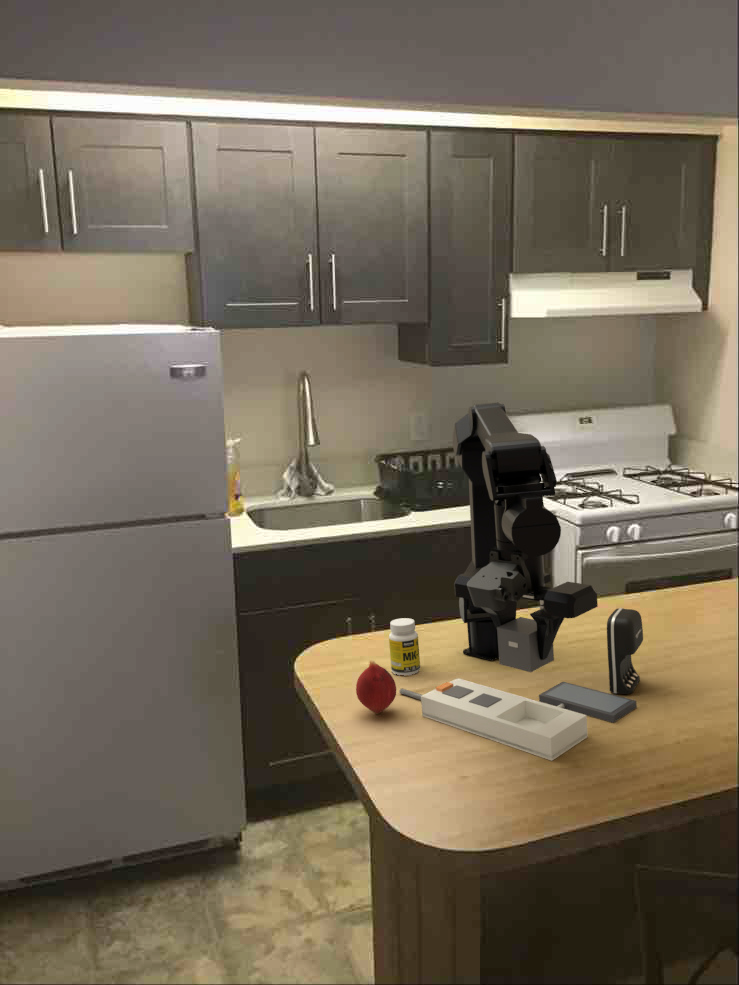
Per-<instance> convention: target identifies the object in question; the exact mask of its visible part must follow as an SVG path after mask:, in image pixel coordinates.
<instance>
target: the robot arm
mask: <svg viewBox="0 0 739 985" xmlns="http://www.w3.org/2000/svg"><path fill="white" fill-rule="evenodd" d="M541 444H542V443H541V442H540V440H539V439H538V438H537V437H536V436H534V435H533V434H530V433H529V434H528V433H524V432H519V431H518V430H517V428H516V427H515V425H514V424H513V422H512V421H511V419H510V418H509V417H508V415H507V412H506V406H505V404H504V403H499V402H488V403H487V402H486V403H476V404H475V403H474V404H473V405H472V406H469V407H468V410H467V414H465V415H464V416H463V417H462V418H460V419H458V420H457V422H455V423H454V426H453V433H452V446H453V454H454V455H455V457H456V456H457V462H458V463H459V465H460V468H461V469H462V471H463V472H464V474H465V475H466V476H467V478H468V490H469V491H468V492H469V494H468V495H469V513H470V516H469V517H470V518H469V519H470V536H471V539H470V540H471V555H472V556H471V559H472V560H471V561H470V563H469V564H468V566H467V568H466V570H464V573H461V574H458V576H457V577H456V579H455V581H454V584H453V586H454V596H455V597H456V598H459V599H458V600H459V601H458V606H459V615H460V618H461V620H462V622H463V624H466V626H467V639H468V640H467V642H468V648H465V649H463V650H462V653H463V655H468V656H472V657H476V658H480V659H483V660H487V661H494V660H497V659H499V649H498V635H497V627H499V626H501V625H504V624H506V623H508V622H510V621H513V620H515V619H517V603H518V602H519V601H520V600H521V599H524V600H529V601H534V602H539V609H538V610H536V611H534V612H533V611H532V612H531V613H529V615H530V617H531V619H533V620H535V622H536V624H537V639H538V651H539V657H540V660H544V659H546V658H547V657H548V654H549V652H550V649H551V647H552V644H553V645H554V641H555V639H556V636H557V634H558V632H559V629H560V627H561V626H562V624H563V622H564V620H565V619H576V618H577V617H579V616H582V615H584V614H586V613H587V612H589V611H592V610H593V609H596V608H598V606H599V605H598V593H597V591H596V589H595V588H594V587H593V586H592V585H590V584H585V583H580V582H572V581H566V582H563V583H561V584H559V585H557V586H554V587H548V586H546V584H548V583H551V581H552V580H551V578H552V577H551V573H546V572H545V564H544V563H545V562H544V556H545V555H548V553H550V552H552V551H553V550H554V549H555V548H556V547H557V545H558V543H559V541H560V539H561V535H562V534H561V533H562V527H561V525H560V522H559V519H558V518H557V516H556V515H555V514H554V513H553V512H552V511H550V510H549V509H547V508H546V507H545V504H544V497H549V496H555V495H556V489H555V488H557V487H556V486H557V482H558V480H557V476H556V472H555V469H554V466H553V461H552V460H551V459H552V458H551V456H550V454H549V453H548V452H547V448H546V447H545V446H544V445H541Z"/></svg>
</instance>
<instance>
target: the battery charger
mask: <svg viewBox="0 0 739 985" xmlns="http://www.w3.org/2000/svg"><path fill="white" fill-rule="evenodd" d="M642 619H643V618H642V616H641V613H640V611H638V610H636V609H629V608H623V607H619V608H616V609H614V610H613V611H612V612H611V613H610V615H609V617H608V618H607V621H606V644H607V646H606V647H607V662H608V663H607V664H608V679H609V680H608V681H609V682H608V683H609V684H608V685H609V692H610V693H611V694H612V693H613V694H614V695H617V694H621V695H622V694H623V695H629V694H632V693H633V692H634V691H635V689H636V688H637V686H638V684H639V682H640V680H641V677H640V675H639V674H638V673H637V671H636V669H635V667H634V665H633V663H632V662H633V661H632V655H634V654H635V653H636V652H637V650H638V649H639V648H640V646H641V645H642V644H643V641H644V633H643V630H644V629H643V621H642Z"/></svg>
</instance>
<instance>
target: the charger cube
mask: <svg viewBox="0 0 739 985" xmlns="http://www.w3.org/2000/svg"><path fill="white" fill-rule="evenodd" d="M497 635H498V649H499V658H498V662H499V664H498V665H500V666H505V667H509V668H513V669H517V670H520V671H524V672H528V673H533V672H535V671H537V670H539V669H540V668H543V667H544V666H546V665H548V664H550V663H551V662H554V661H555V655H554V654H555V652H554V643H553V644H552V647H551V649H550V652H549V654H548V657H547V658H546V659H544V660H540V657H539V651H538V639H537V624H536V622H535V620H534V619H533V618H527V617H524V616H520V617H516V619H515V620H513V621H510V622H508V623H506V624H504V625H501V626H499V627H497Z"/></svg>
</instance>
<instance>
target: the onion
mask: <svg viewBox="0 0 739 985" xmlns="http://www.w3.org/2000/svg"><path fill="white" fill-rule="evenodd" d="M355 685H356V687H355V693H356V697H357V699H358V700H359V702H360V703H361V704H362V705H363V707H364V708H367V709H369V711H372V712H373V713H374V714H376V715H377V714H380V713H382V712H383V711H385V710H386V709H387V708H388V707H389V706H390V705H391V704H393V702H394V700H395V698H396V696H397V685H396V682H395V680H394V678H393V675H391V674H390V672H389V671H388V670H387V669H386V668H385V667H383V666H381V665H379V664H378V663H376V662H375V660H373V659H369V664H368V667H366V668H365V669H364V670H363V671H362V673H361V674H359V676H358V678H357V681H356V684H355Z"/></svg>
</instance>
